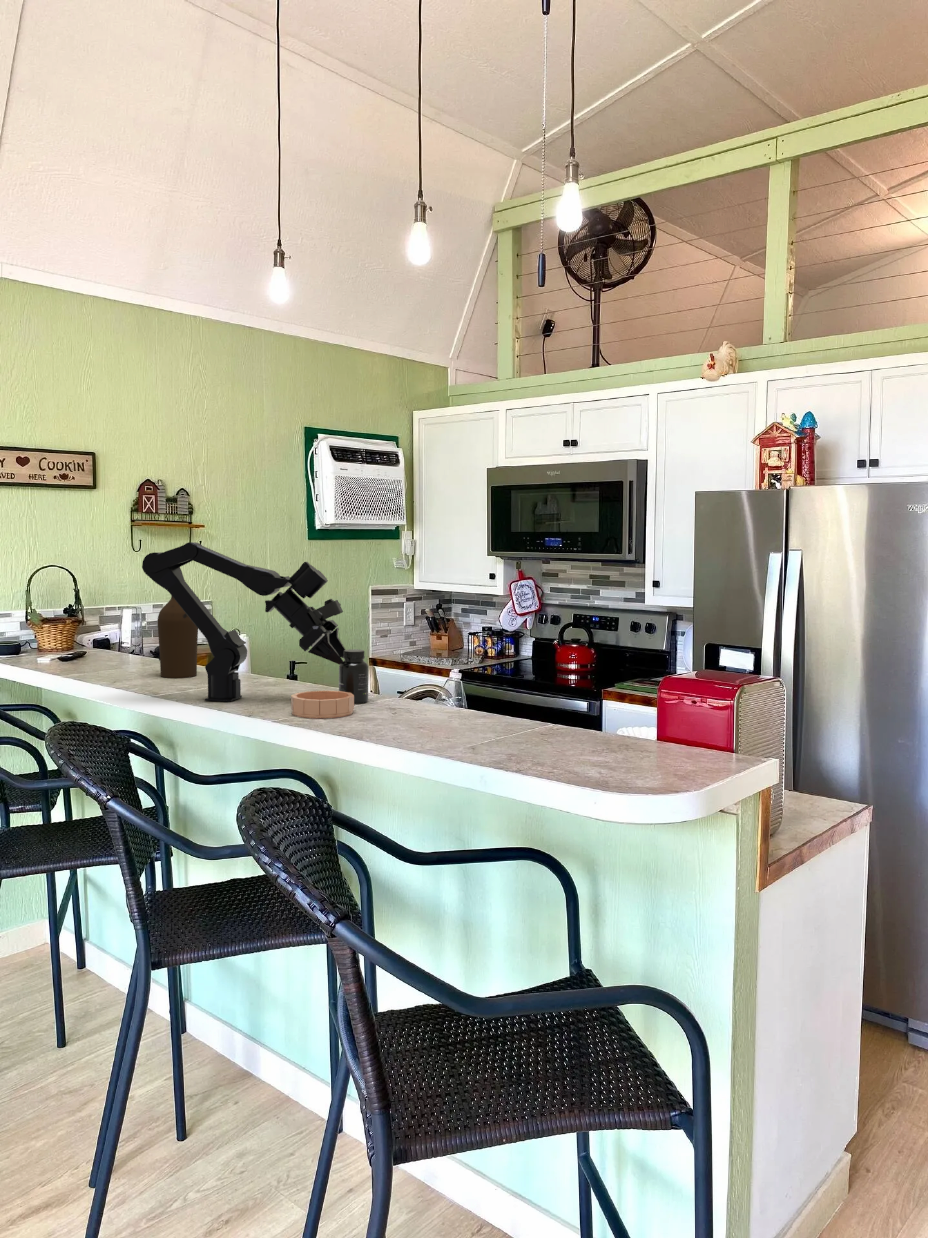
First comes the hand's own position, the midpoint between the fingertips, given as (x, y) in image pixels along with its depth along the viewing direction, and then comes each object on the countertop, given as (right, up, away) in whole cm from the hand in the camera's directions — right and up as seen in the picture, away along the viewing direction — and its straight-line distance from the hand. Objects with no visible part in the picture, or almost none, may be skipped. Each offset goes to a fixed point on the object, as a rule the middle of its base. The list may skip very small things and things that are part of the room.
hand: (345, 660), depth 208 cm
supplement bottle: (+2, -10, +1) cm, 10 cm away
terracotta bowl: (-3, -11, -14) cm, 18 cm away
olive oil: (-51, -6, +39) cm, 64 cm away
